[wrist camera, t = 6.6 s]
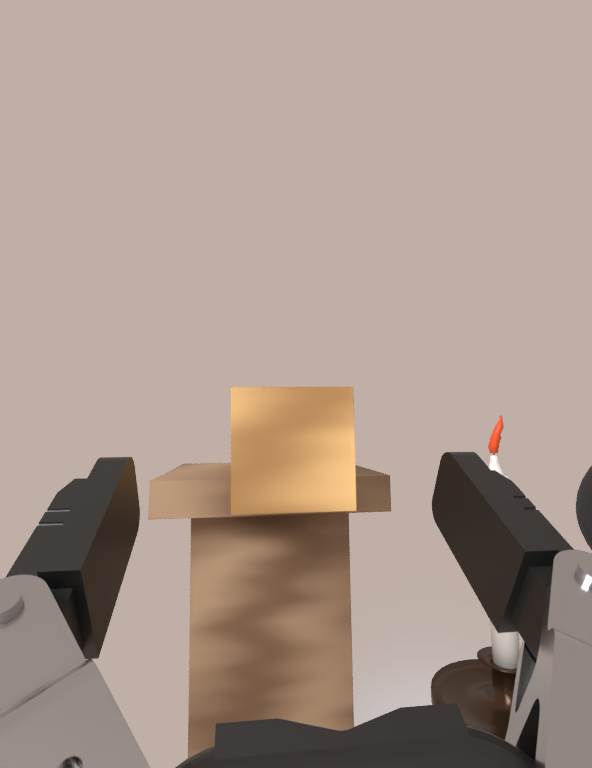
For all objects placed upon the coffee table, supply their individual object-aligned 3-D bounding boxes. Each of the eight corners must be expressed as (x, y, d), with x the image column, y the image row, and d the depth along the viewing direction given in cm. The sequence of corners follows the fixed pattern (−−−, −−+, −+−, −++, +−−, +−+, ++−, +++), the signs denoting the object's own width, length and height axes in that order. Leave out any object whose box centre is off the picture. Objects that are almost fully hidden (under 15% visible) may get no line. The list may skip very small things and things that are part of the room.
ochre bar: (281, 458, 32) (281, 417, 33) (356, 510, 11) (353, 386, 11) (240, 458, 32) (240, 417, 32) (230, 515, 10) (231, 386, 11)
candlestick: (637, 925, 30) (593, 414, 34) (585, 1077, 23) (537, 411, 27) (483, 822, 38) (462, 418, 42) (409, 911, 31) (392, 417, 35)
